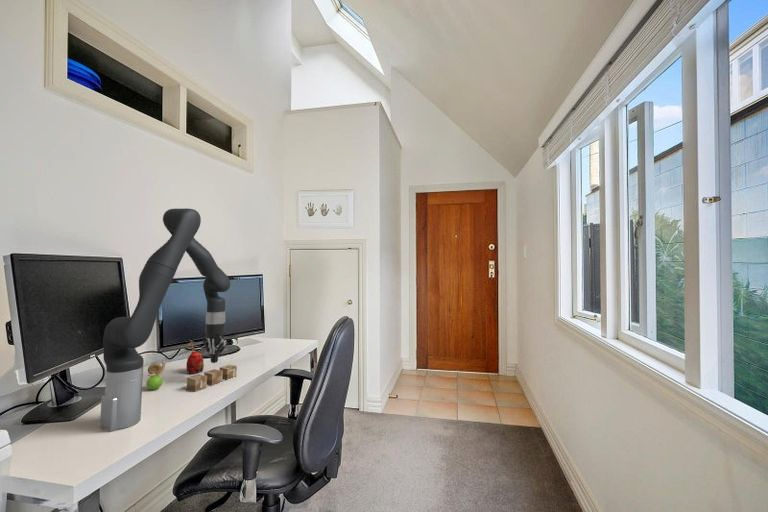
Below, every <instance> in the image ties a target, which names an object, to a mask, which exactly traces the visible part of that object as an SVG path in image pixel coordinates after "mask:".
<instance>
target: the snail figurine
mask: <svg viewBox="0 0 768 512" xmlns="http://www.w3.org/2000/svg"><path fill="white" fill-rule="evenodd" d="M164 359H165V360H163V361H162V362H161V363H162V364H160V363H157V362H155V363H151V364H150V365H149V366H148V367H147V376H148V377H149V378H148V379H147V380H146V384H145V385H146V388H147V389H148V390H151V391H155V390H158V389H159V388H160V387H162V386H163V382H164V380H163V377H162V376H161V375H162V373H163V372H164V370H165V367H166V364H167V357H164Z"/></svg>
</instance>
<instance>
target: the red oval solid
mask: <svg viewBox="0 0 768 512" xmlns="http://www.w3.org/2000/svg"><path fill="white" fill-rule="evenodd" d="M189 341H190V343H187V345H188V346H191V349H192V352H191V354H190V355H189V356H188V358H187V359H186V360H187V361H186V366H185V367H186V372H187V373H188V374H190V375H191V374H192V375H194V374H195V375H196V374H198V373H201V372H203V371H204V367H205V363H204V359H203V357H202V354H201V353H200V351H198V352H197V351H196V352H195V350H194V349H195V348H194V345H193V343H194V341H192V340H191V339H189Z"/></svg>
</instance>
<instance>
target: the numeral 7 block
mask: <svg viewBox="0 0 768 512" xmlns="http://www.w3.org/2000/svg"><path fill="white" fill-rule="evenodd" d="M218 370H222V371H223V376H222V380H223V379H225V380H224V381H229V380H228V379H230V380H232V379H234V378H233V377H235V378H237V377H236V376H237V374H238V373H237V372H238V371H237V370H238V366H237V365H233V364H227V365H223V366H219V369H218ZM231 378H232V379H231Z"/></svg>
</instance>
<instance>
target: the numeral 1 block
mask: <svg viewBox="0 0 768 512" xmlns="http://www.w3.org/2000/svg"><path fill="white" fill-rule="evenodd" d="M207 386H208V385H207V376H205V375H204V374H201V373H200V374H198V373H196V374H195V375H194V374H193V375H192V376H191V375H190V376H188V377H186V390H187V391H188V392H193V393H196V392H199V391H202V390H205V389H207Z"/></svg>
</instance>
